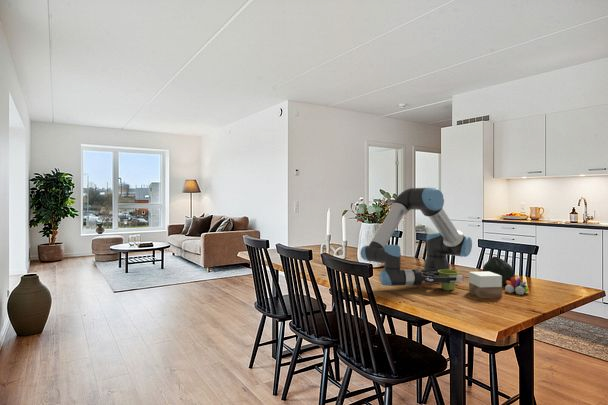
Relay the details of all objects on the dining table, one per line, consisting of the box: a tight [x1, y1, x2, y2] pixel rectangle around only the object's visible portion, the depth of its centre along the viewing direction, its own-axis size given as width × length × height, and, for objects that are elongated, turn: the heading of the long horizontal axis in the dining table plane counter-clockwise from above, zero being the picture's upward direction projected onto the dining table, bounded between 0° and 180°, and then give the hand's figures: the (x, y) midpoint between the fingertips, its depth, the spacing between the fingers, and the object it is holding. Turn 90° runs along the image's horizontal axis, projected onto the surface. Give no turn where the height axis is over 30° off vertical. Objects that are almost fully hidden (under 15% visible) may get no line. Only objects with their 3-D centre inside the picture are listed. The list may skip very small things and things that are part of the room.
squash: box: [481, 256, 515, 286], centre depth 197 cm, size 14×15×15 cm
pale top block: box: [468, 271, 503, 288], centre depth 175 cm, size 10×10×5 cm
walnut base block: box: [468, 282, 503, 299], centre depth 175 cm, size 10×10×5 cm
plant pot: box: [438, 269, 459, 291], centre depth 186 cm, size 9×9×9 cm
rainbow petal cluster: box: [504, 276, 529, 296], centre depth 178 cm, size 8×10×7 cm
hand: (457, 276), depth 186 cm, fingers closed on plant pot, 8 cm apart
